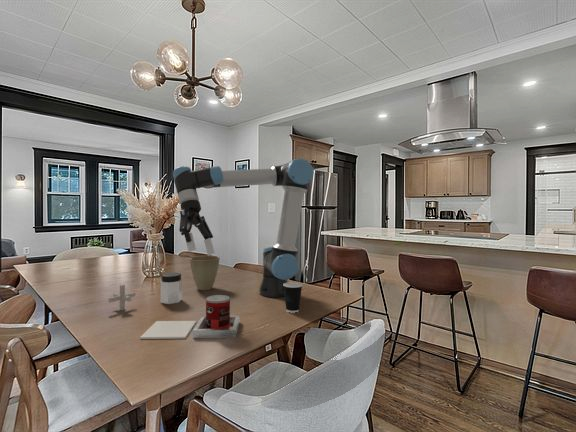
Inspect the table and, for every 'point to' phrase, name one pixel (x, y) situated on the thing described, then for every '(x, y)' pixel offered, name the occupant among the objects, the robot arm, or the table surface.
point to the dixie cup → (292, 296)
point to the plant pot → (204, 271)
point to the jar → (171, 288)
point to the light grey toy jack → (122, 297)
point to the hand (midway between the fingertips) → (202, 252)
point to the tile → (169, 330)
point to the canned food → (218, 312)
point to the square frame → (216, 333)
